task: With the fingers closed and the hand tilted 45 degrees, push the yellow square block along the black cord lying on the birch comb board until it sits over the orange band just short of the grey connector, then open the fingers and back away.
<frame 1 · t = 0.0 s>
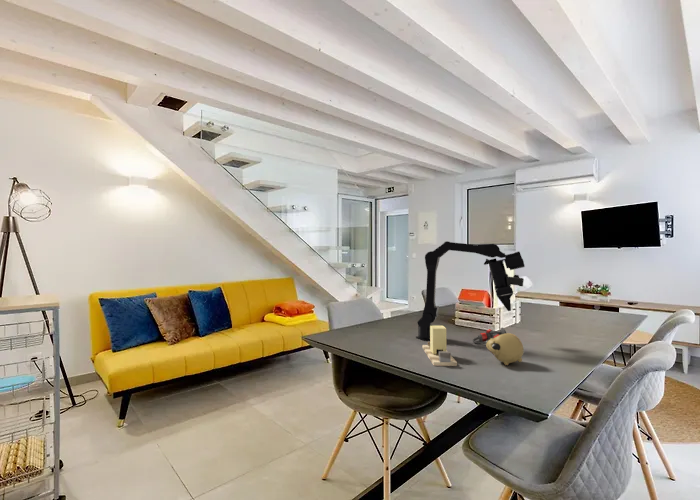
hand: (508, 309, 142), 15 cm above the table, tool pointing down, fingers open, 9 cm apart
yellow square block: (438, 339, 129), point 6 cm above the table, slide at 0.0 cm
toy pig: (504, 363, 121), on the table
comb board: (438, 356, 129), on the table
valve: (493, 346, 144), on the table
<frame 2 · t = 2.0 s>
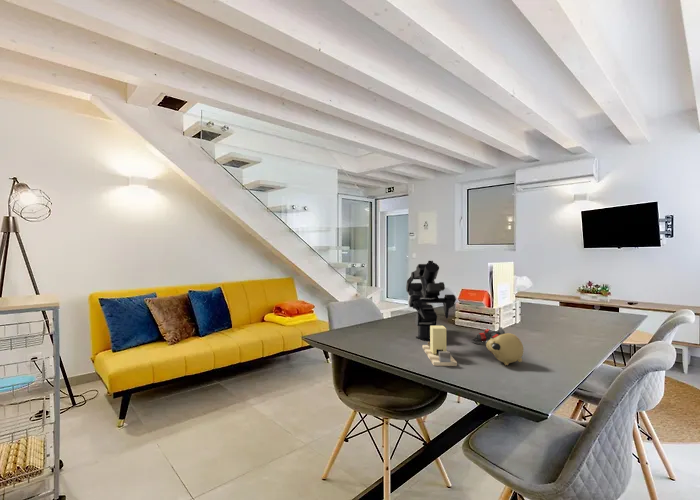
hand: (435, 318, 138), 13 cm above the table, tool tilted 45°, fingers open, 9 cm apart
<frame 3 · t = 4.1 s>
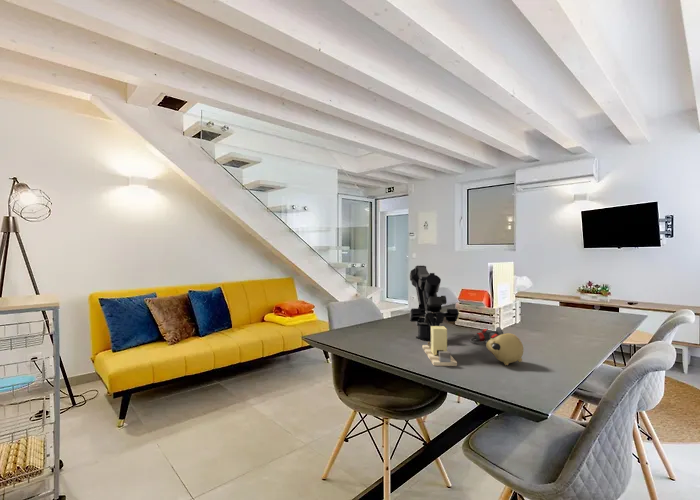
hand: (437, 333, 131), 8 cm above the table, tool tilted 45°, fingers closed, pressing on yellow square block
yellow square block: (438, 340, 128), point 6 cm above the table, slide at 1.0 cm, touching gripper
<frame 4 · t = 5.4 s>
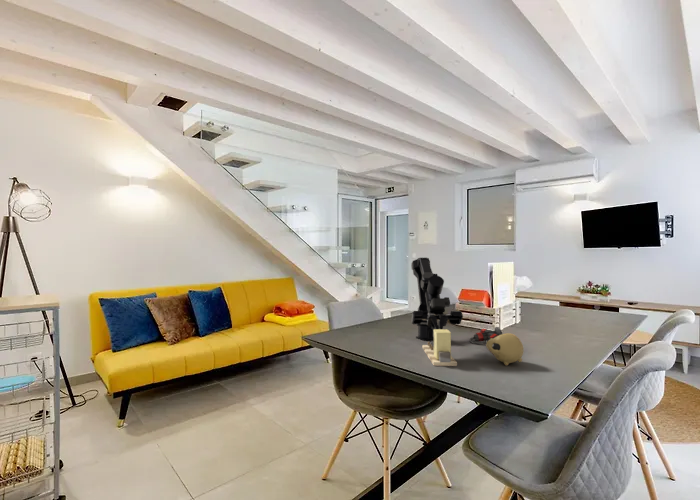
hand: (440, 336, 126), 8 cm above the table, tool tilted 45°, fingers closed, pressing on yellow square block
yellow square block: (442, 344, 123), point 6 cm above the table, slide at 6.4 cm, touching gripper
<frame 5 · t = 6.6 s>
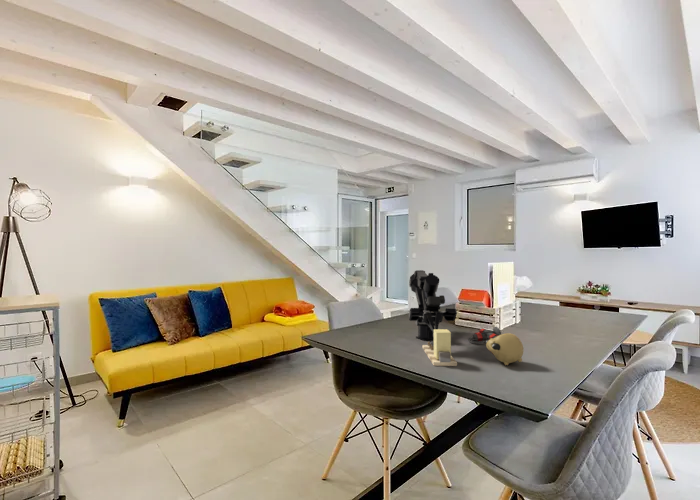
hand: (435, 332, 134), 8 cm above the table, tool tilted 45°, fingers closed
yellow square block: (442, 344, 123), point 6 cm above the table, slide at 6.3 cm
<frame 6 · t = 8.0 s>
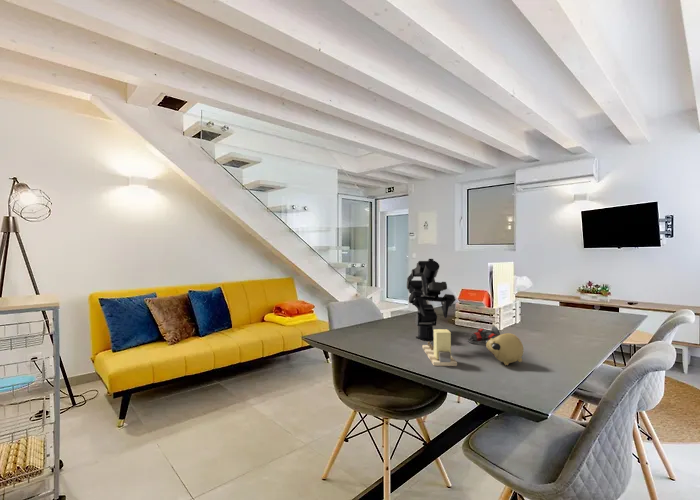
hand: (435, 316, 138), 13 cm above the table, tool tilted 40°, fingers open, 9 cm apart
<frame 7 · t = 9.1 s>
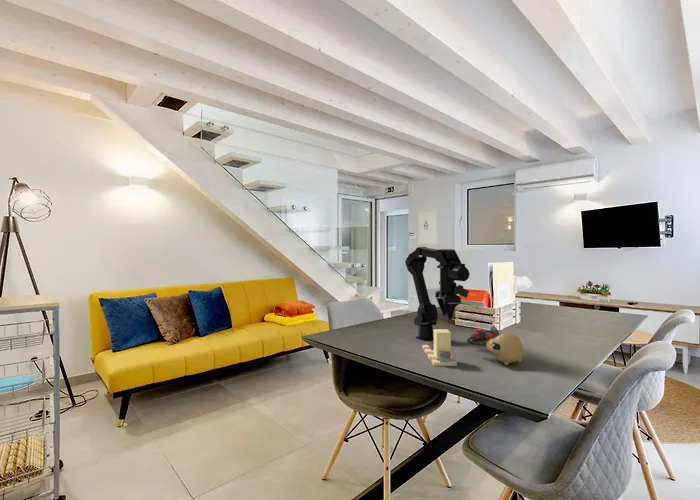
hand: (447, 317, 140), 13 cm above the table, tool pointing down, fingers open, 9 cm apart
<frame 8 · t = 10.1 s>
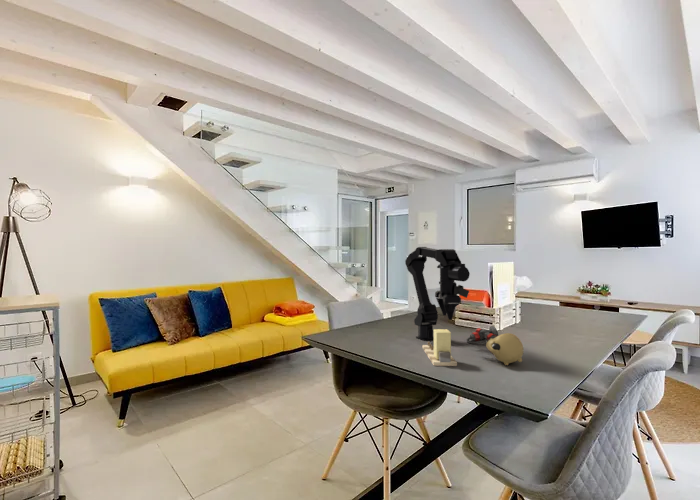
hand: (447, 317, 140), 12 cm above the table, tool pointing down, fingers open, 9 cm apart
at the end: yellow square block slide at 6.3 cm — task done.
